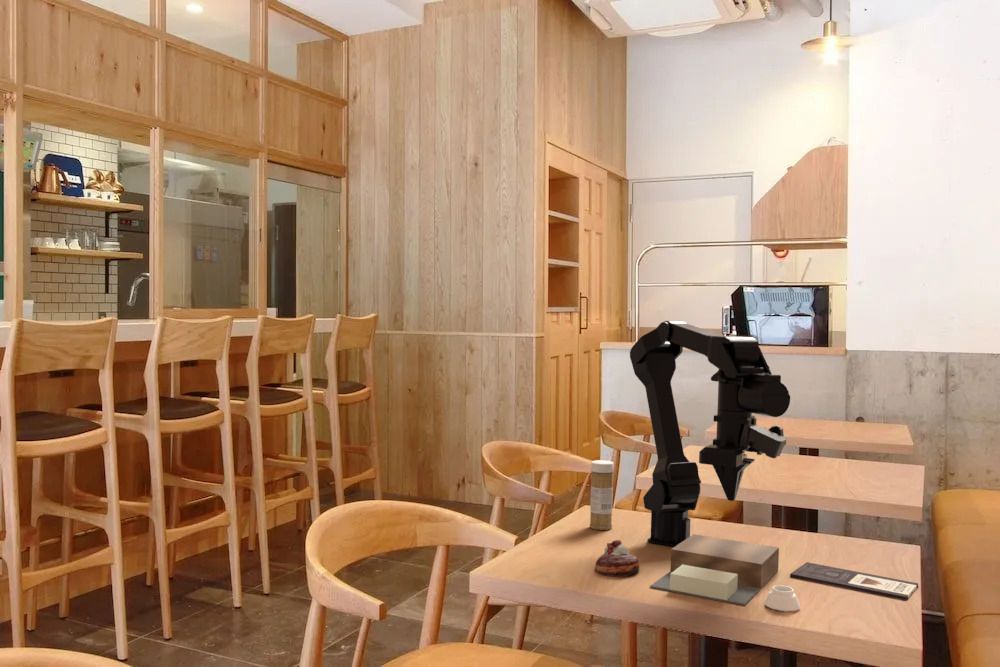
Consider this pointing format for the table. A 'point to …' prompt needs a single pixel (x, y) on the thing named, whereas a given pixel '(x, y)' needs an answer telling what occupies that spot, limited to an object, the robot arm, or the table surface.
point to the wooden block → (728, 558)
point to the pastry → (617, 561)
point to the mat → (738, 597)
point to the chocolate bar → (855, 580)
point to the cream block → (704, 582)
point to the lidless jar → (782, 599)
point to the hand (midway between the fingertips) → (731, 500)
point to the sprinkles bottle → (601, 494)
